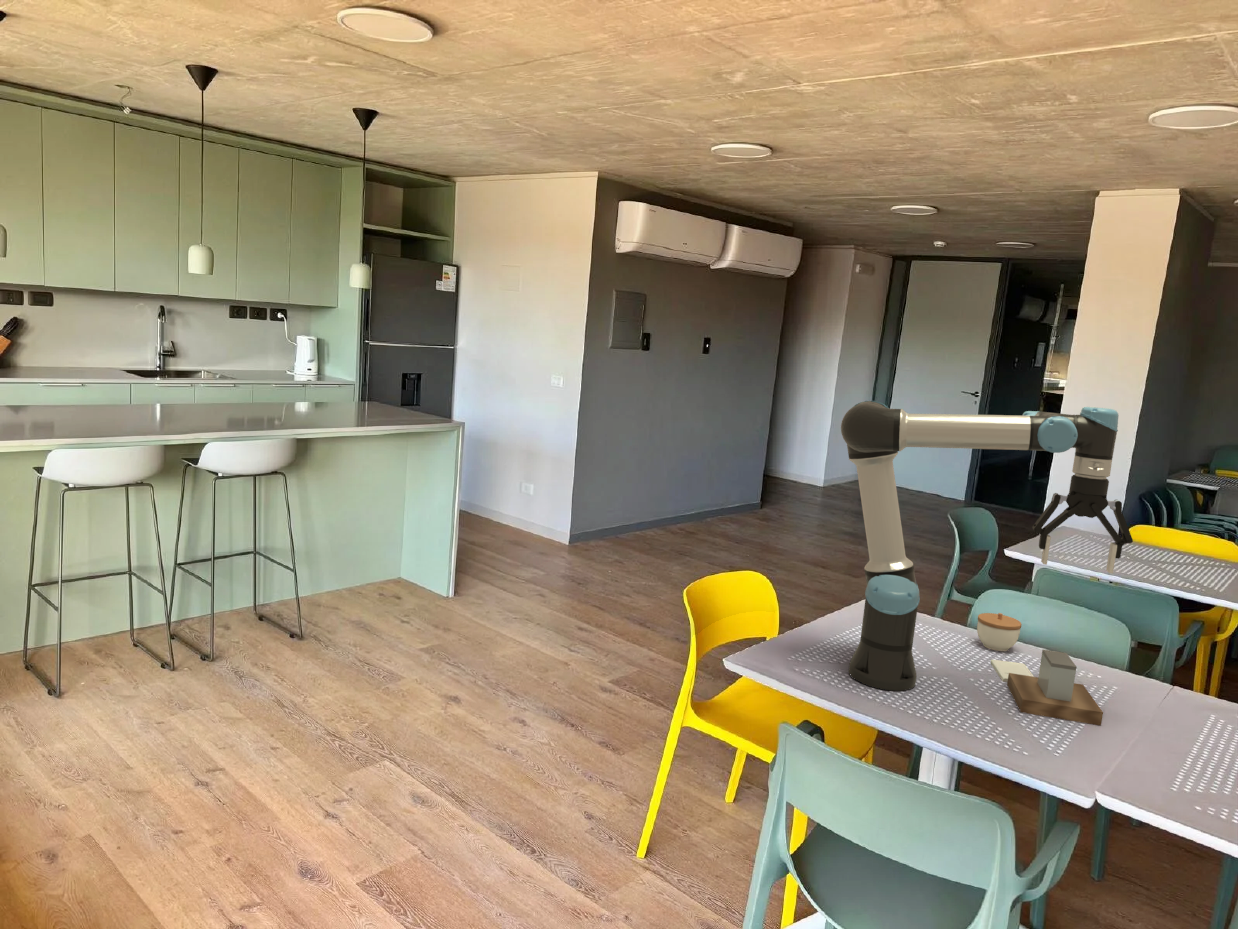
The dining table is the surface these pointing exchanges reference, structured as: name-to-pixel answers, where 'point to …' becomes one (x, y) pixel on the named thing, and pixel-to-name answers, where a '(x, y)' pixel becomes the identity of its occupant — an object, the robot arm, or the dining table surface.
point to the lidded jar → (998, 631)
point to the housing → (1056, 675)
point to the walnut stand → (1053, 701)
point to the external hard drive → (1009, 669)
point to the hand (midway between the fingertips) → (1076, 567)
